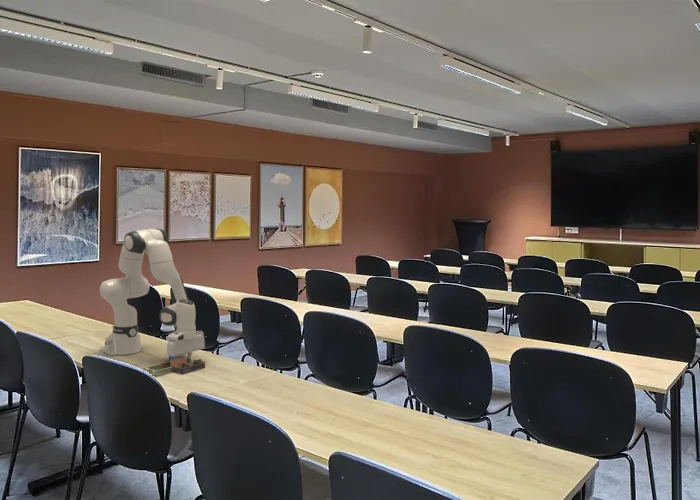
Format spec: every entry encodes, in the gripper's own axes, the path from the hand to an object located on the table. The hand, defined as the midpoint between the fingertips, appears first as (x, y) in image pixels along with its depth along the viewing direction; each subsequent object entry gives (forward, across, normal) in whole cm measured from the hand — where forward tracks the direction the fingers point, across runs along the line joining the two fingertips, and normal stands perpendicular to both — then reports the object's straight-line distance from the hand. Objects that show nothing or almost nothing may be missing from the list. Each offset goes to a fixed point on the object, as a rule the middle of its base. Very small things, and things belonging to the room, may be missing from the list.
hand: (186, 361), depth 280 cm
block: (+2, +5, 0) cm, 5 cm away
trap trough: (+2, +8, +3) cm, 9 cm away
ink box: (+2, -3, -11) cm, 12 cm away
